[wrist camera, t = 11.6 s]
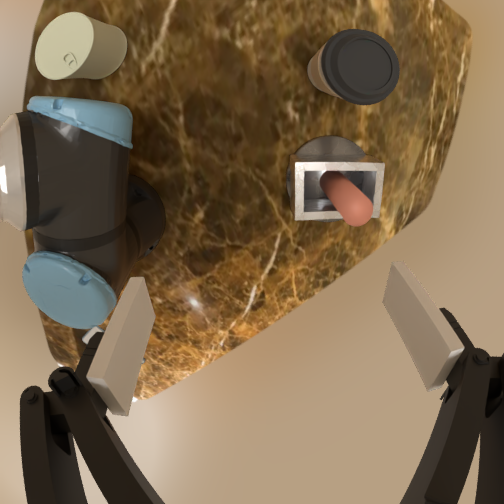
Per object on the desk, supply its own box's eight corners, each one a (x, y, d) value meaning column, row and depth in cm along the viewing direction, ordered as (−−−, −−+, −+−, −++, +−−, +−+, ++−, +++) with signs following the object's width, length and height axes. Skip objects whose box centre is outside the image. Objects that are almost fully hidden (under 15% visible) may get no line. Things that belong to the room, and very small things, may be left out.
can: (91, 90, 37) (50, 95, 27) (67, 51, 33) (23, 47, 22) (137, 53, 35) (104, 44, 24) (111, 14, 31) (74, -3, 20)
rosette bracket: (285, 221, 49) (291, 238, 44) (284, 135, 42) (291, 141, 37) (366, 218, 49) (379, 233, 44) (372, 137, 42) (389, 144, 37)
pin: (319, 193, 46) (341, 226, 36) (319, 169, 44) (343, 195, 34) (343, 193, 46) (371, 225, 36) (344, 169, 44) (374, 195, 34)
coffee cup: (368, 86, 38) (419, 89, 25) (318, 110, 40) (353, 120, 27) (340, 35, 34) (382, 15, 21) (288, 58, 36) (310, 42, 23)
